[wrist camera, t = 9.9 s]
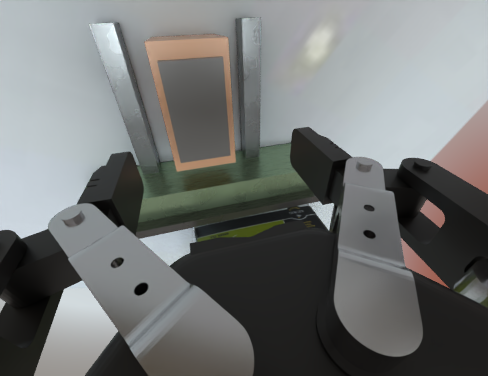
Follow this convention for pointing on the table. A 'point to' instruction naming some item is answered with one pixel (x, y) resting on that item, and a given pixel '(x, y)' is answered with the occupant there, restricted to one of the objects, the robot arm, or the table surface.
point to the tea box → (258, 223)
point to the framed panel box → (195, 97)
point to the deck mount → (213, 177)
